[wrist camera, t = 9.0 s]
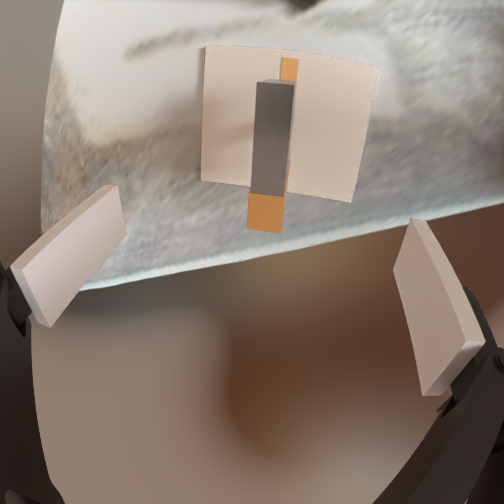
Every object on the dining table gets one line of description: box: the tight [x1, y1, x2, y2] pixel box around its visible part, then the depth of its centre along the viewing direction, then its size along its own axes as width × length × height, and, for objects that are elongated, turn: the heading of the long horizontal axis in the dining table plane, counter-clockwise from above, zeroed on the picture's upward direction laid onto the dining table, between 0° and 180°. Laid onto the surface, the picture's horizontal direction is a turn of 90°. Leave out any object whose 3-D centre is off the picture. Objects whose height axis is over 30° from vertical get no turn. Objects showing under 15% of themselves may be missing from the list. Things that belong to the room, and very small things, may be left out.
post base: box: [201, 46, 378, 203], centre depth 31 cm, size 20×18×8 cm
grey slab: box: [247, 79, 297, 233], centre depth 24 cm, size 11×3×9 cm, turn 177°
